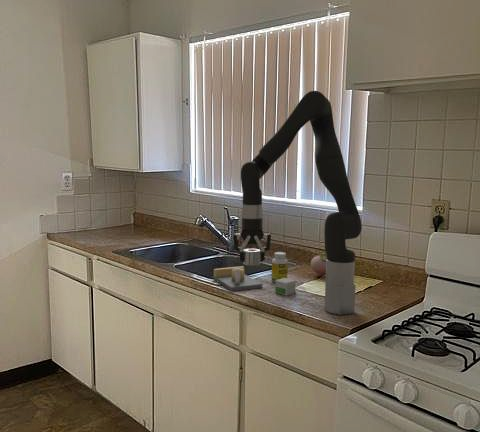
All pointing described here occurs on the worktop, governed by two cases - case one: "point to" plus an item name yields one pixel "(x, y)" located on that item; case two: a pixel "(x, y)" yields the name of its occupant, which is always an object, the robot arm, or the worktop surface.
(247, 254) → the planet gear
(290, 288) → the small box
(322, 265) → the decorative fruit
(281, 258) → the pill bottle
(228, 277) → the carrier
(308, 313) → the worktop surface
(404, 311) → the worktop surface
